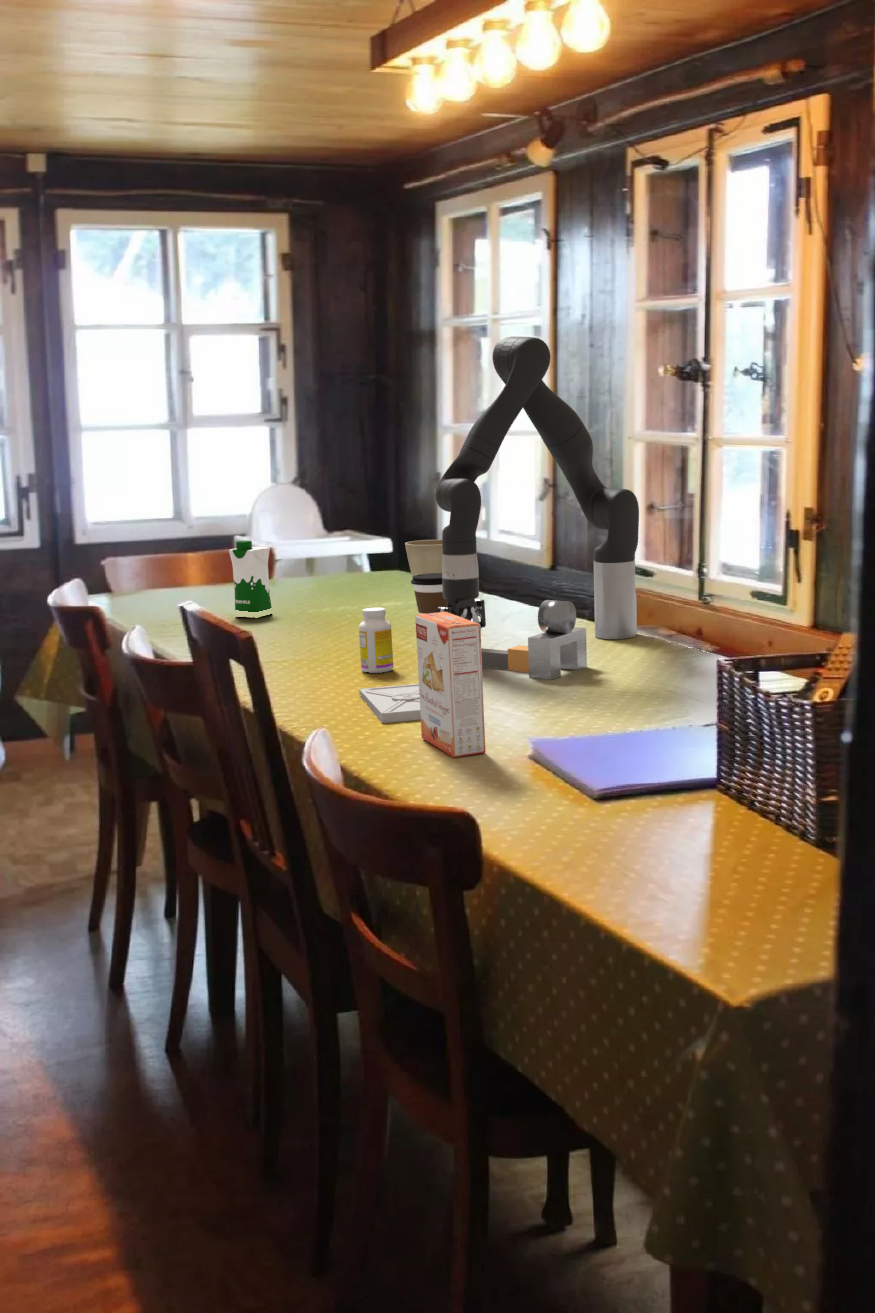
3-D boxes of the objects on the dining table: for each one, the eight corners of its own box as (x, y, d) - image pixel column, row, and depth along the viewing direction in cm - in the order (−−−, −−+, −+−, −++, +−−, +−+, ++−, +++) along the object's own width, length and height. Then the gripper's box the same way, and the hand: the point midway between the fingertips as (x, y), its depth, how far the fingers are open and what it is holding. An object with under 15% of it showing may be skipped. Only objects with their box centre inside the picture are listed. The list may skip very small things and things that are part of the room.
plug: (451, 664, 289) (451, 644, 289) (463, 661, 293) (463, 640, 292) (529, 672, 278) (528, 650, 278) (540, 668, 282) (540, 647, 281)
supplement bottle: (398, 667, 288) (395, 606, 286) (386, 674, 282) (383, 611, 280) (368, 667, 290) (365, 606, 288) (356, 673, 284) (352, 611, 282)
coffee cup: (405, 627, 338) (403, 578, 336) (423, 620, 348) (420, 572, 346) (447, 628, 334) (445, 578, 332) (463, 621, 344) (461, 572, 341)
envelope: (430, 693, 266) (359, 699, 263) (429, 681, 266) (359, 687, 263) (459, 717, 243) (382, 724, 240) (458, 705, 243) (381, 712, 240)
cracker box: (419, 739, 228) (413, 613, 224) (453, 735, 230) (448, 610, 226) (451, 759, 215) (445, 625, 211) (486, 754, 217) (482, 622, 213)
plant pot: (462, 602, 373) (459, 543, 370) (406, 605, 374) (404, 546, 371) (461, 594, 388) (459, 538, 385) (408, 596, 388) (406, 540, 385)
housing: (565, 664, 284) (563, 595, 281) (586, 666, 281) (585, 596, 278) (529, 677, 273) (527, 605, 270) (550, 679, 270) (549, 606, 267)
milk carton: (230, 618, 364) (224, 542, 360) (252, 612, 371) (247, 538, 368) (256, 619, 359) (250, 542, 355) (278, 614, 367) (273, 538, 363)
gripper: (455, 580, 279) (457, 659, 282) (494, 572, 290) (496, 648, 293) (425, 578, 283) (428, 656, 286) (464, 570, 295) (467, 645, 297)
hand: (462, 652), depth 290 cm, fingers open, 8 cm apart
